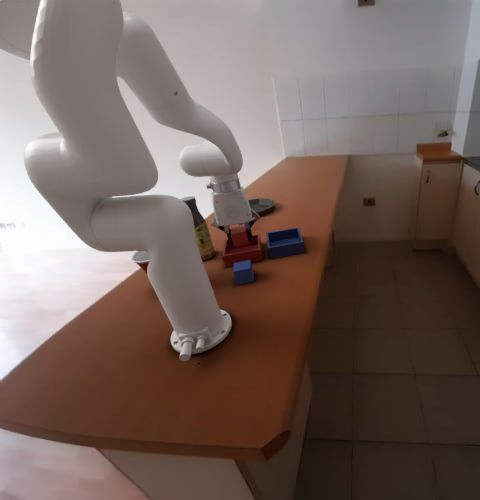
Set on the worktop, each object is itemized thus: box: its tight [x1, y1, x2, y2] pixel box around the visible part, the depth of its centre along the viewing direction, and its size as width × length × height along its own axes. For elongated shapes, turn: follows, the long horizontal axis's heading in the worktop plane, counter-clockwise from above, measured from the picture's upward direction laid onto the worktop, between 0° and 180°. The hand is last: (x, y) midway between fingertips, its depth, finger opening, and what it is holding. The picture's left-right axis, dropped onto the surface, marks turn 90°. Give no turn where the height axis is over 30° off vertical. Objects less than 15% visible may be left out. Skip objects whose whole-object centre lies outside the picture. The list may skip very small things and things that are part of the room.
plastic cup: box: [130, 251, 151, 275], centre depth 75 cm, size 11×11×12 cm
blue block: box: [232, 260, 255, 286], centre depth 78 cm, size 4×4×4 cm
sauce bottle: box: [180, 195, 216, 261], centre depth 87 cm, size 6×6×20 cm
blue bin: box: [265, 227, 306, 260], centre depth 92 cm, size 11×11×4 cm
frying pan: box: [238, 197, 275, 226], centre depth 117 cm, size 18×32×4 cm, turn 1°
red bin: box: [222, 233, 264, 268], centre depth 90 cm, size 11×11×4 cm
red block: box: [230, 225, 249, 247], centre depth 88 cm, size 4×4×4 cm
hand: (241, 240), depth 88 cm, fingers closed on red block, 4 cm apart
